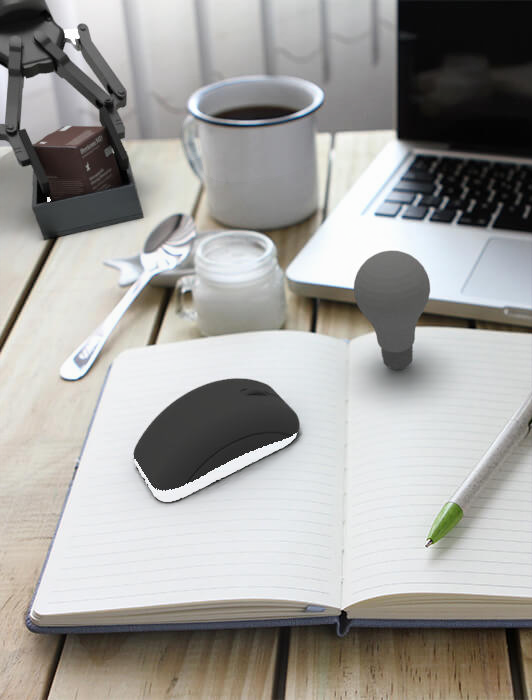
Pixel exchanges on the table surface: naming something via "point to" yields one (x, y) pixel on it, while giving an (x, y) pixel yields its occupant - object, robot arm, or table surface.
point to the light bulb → (393, 302)
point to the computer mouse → (212, 430)
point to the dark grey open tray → (87, 207)
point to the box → (78, 161)
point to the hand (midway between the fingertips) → (86, 176)
